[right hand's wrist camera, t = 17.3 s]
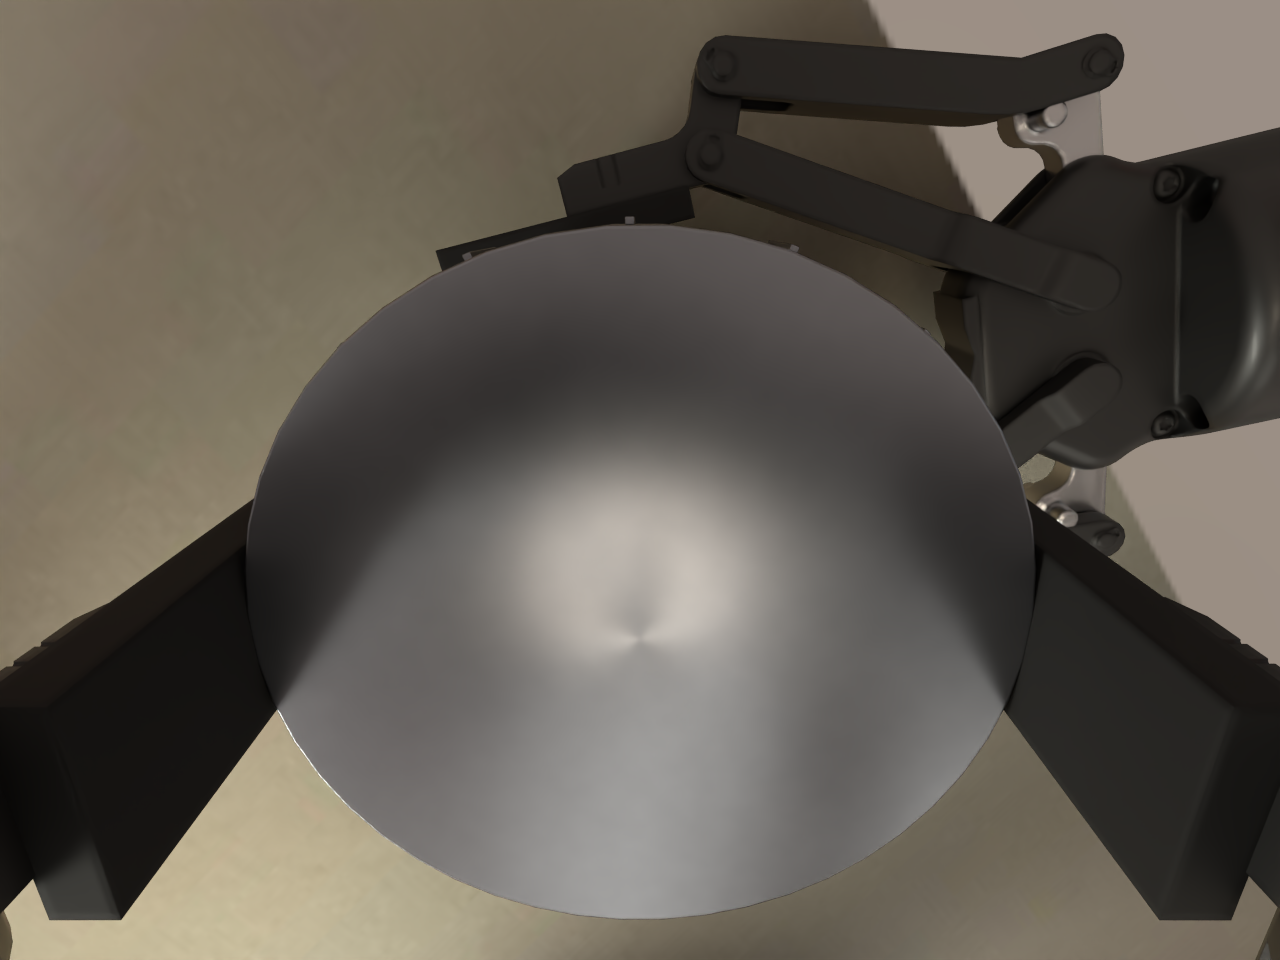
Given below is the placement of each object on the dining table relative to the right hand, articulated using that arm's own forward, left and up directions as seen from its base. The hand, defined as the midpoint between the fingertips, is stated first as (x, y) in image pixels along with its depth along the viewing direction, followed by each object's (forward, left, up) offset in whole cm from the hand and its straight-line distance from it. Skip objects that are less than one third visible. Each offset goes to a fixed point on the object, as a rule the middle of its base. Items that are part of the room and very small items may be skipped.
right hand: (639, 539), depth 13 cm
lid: (0, 0, +3) cm, 3 cm away
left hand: (-1, +4, -8) cm, 9 cm away
